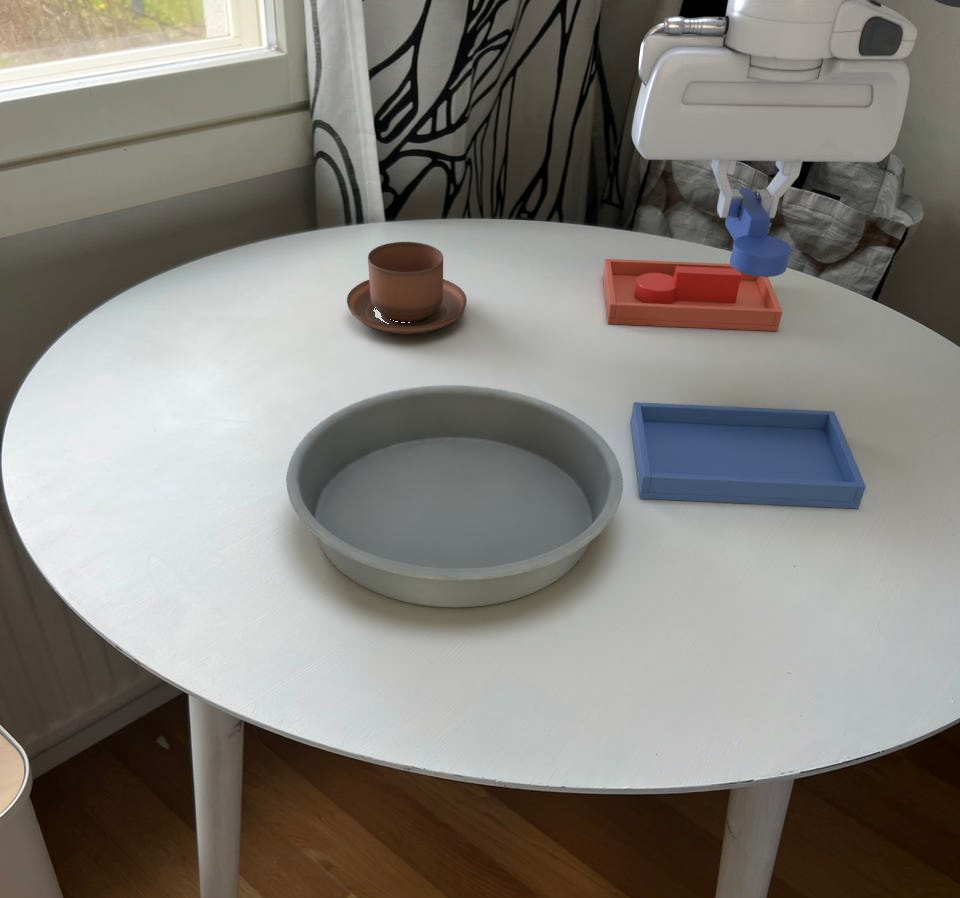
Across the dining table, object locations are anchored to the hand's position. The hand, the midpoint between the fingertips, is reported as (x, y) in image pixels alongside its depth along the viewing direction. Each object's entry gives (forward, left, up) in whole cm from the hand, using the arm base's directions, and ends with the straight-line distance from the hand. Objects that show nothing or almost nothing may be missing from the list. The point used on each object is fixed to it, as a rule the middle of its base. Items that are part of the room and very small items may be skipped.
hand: (745, 215), depth 78 cm
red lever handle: (0, -17, -14) cm, 22 cm away
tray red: (0, -17, -15) cm, 22 cm away
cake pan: (+22, +22, -15) cm, 35 cm away
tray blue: (-1, +13, -15) cm, 20 cm away
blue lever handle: (0, +2, -2) cm, 3 cm away
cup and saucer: (+29, -11, -15) cm, 35 cm away
